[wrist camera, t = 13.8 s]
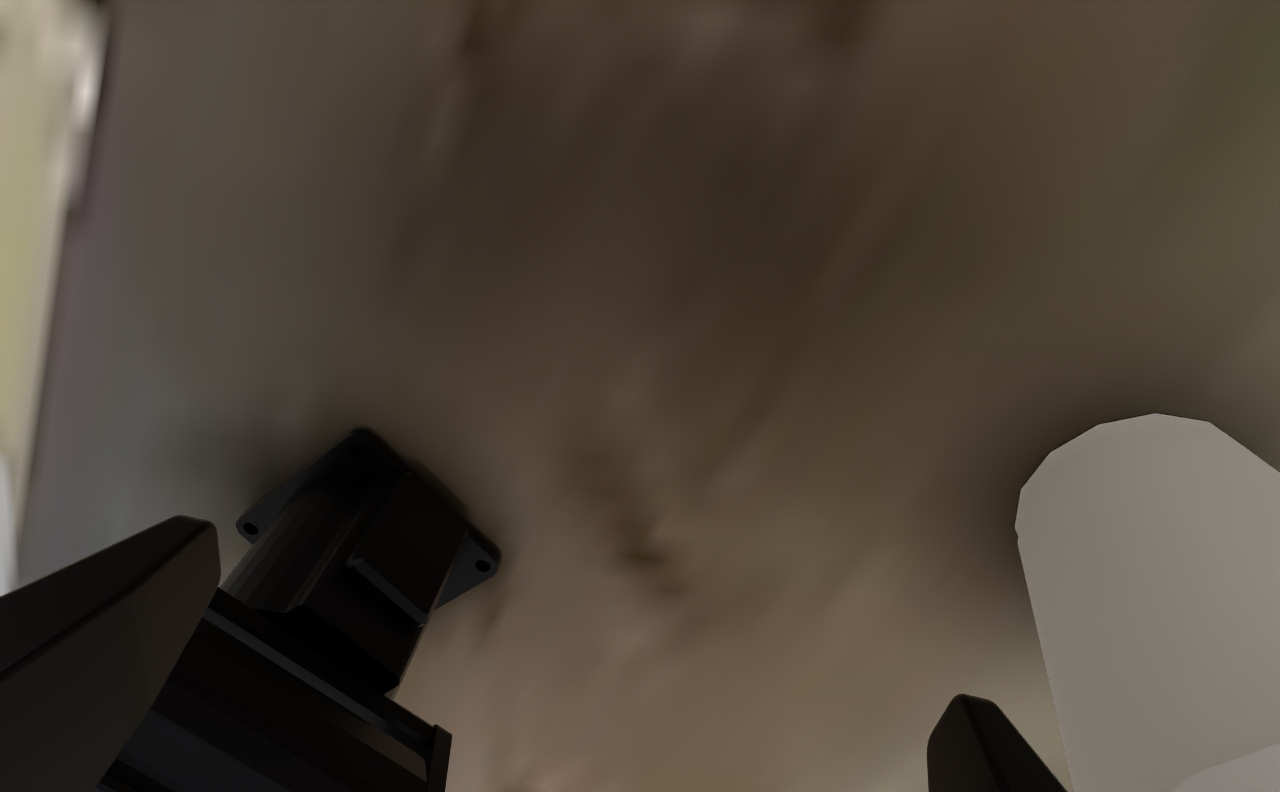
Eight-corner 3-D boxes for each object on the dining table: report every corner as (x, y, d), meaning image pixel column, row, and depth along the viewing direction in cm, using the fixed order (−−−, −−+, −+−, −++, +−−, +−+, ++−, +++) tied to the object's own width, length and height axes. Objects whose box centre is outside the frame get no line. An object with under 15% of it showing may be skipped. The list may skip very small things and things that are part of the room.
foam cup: (1334, 326, 20) (2088, 843, 9) (1313, 597, 24) (1806, 1183, 13) (935, 410, 22) (1127, 901, 11) (979, 644, 26) (1150, 1171, 15)
